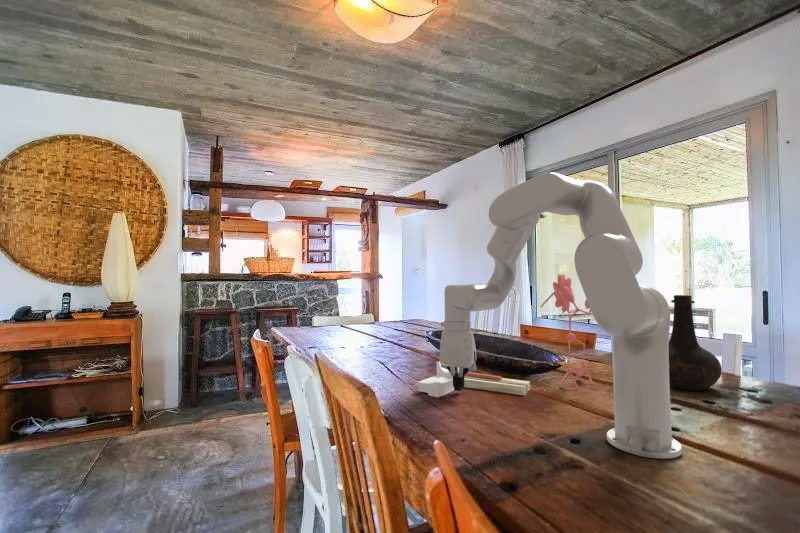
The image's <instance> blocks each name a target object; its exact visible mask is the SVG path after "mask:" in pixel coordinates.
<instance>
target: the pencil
mask: <svg viewBox="0 0 800 533" xmlns="http://www.w3.org/2000/svg"><path fill="white" fill-rule="evenodd" d="M465 376H470V377H477V378H484V379H491V380H497V381H501V380H502V378H503V377H502V376H500V375H492V374H487V373H486V374H485V373H478V372H473V371H472V372H468V373H467V374H466V375H465Z"/></svg>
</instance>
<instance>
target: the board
mask: <svg viewBox="0 0 800 533" xmlns="http://www.w3.org/2000/svg"><path fill="white" fill-rule="evenodd" d="M464 388H469V389H476V390H484V391H490V392H496V393H497V392H498V393H505V394H512V395H517V396H518V395H519V396H526V395H527V394H528V392H530V390H531V381H530V380H521V379H520V380H519V379H512V378H504V377H502V380H501V381H497V380H491V379H484V378H477V377H470V376H464Z"/></svg>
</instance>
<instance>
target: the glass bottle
mask: <svg viewBox="0 0 800 533" xmlns="http://www.w3.org/2000/svg"><path fill="white" fill-rule="evenodd" d="M670 302H671V303H672V304H673V320H672V321H673V322H672V331H671V336H670V337H669V383H670V387H671V388H674V389H679V390H683V391H691V392H692V391H695V392H696V391H697V392H698V391H704V390H707V389H709V388H711V387H712V386H714V385H715V384H716V383H717V382H718V381H719V380H720V378H721V377H722V370H723V369H722V364H721V362H720V360H719V359H718V358H717V356H715V355H714V354H713V353H712V352H710V351H708V350H706V349H704V348H703V347H701V345H700V344H699V343H698V340H697V335H696V332H695V324H694V318H693V317H694V316H693V305H692V304H695V303H696V301H694V300H692V295H688V294H685V295H683V294H675V295H673V299H671V300H670Z"/></svg>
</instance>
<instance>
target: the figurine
mask: <svg viewBox="0 0 800 533" xmlns="http://www.w3.org/2000/svg"><path fill="white" fill-rule="evenodd" d="M552 287H553V292H552V293H551V294H550V295H549V296H548V297H547V298H546V300H544V302H543V303H542V304H541V305H540V306H539V307H540V308H542V307H544V305H545V304H546V303H548V301H549V300H550V299H551V298H552V297H554V298H555V299H556V300H555V301H554V302H555V303H554V305H555V307H556V308H561V311H562V313H564V314H565V313H566V312H567V313H568V314H570V315H569V318H568V328H569V329H568V334H567V335H566V340H567V342H568V344H567V345H568V354H567V355H568V357H567V358H568V359H567V360H568V361H567V362H568V363H567V370H566V373H565V374H564V376H563V378H562V380H561V381H560V383H559V385H558V386H559V387H561V385H562V384H563V383H564V381H565V380H566V379H567V377H569V375H570V377H571V379H572V382H573V384H574V386H575V388H576V389H577V390H580V388H579V386H578V384H577V382H576V379H575V378H574V376H573V373H572V372H571V370H572V367H570V358H571V356H570V354H571V343H573V342H577V343H580V344H581V345H583V354H582V355H583V356H582V366H580V367H579V369H578V371H577V372H576V375H575V376H576V378H577V380H580V378H582V376H583V375H584V374H585V373H586V375H587V377H588V378H589V381H590V383H591V385H594V381H593V379H592V377H591V375H590V373H589V372H588V363H585V355H586V354H585V351H586V350H585V349H586V344H585V343H583V342H582V341H580V340H579V339H578V340H577V336H576V335H575V334H574V333H572V332H571V327H572V326H571V324H572V318H573V316H575V314H577V313H578V312H581V313H584V314H586V315H591V314H592V312H591V309H590V307H589V304H588V301H587V299H585V301H584V307H585V309H586V310H588V309H589V310H588V311H586V310H582V309H580V308H579V307H578V305H577V304H576V302H575V296H574V293H573V289H572V278H571V277H567V278H566V275H565V274H561V273H560V274H558V275H557V281H553V282H552ZM570 304H573V305H574V307H575V309H572V310H570ZM556 377H557V375H556V376H555V375H554V376H553V375H552V376H551V378H556ZM546 378H549V376H547V377H542V380H543V379H546ZM599 380H600V381H602V379H600V378H599ZM540 381H541V379H539V380H538V382H537V383H538V385H540V386H541V384H540V383H539V382H540ZM603 381H606V380H605V379H603Z"/></svg>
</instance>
